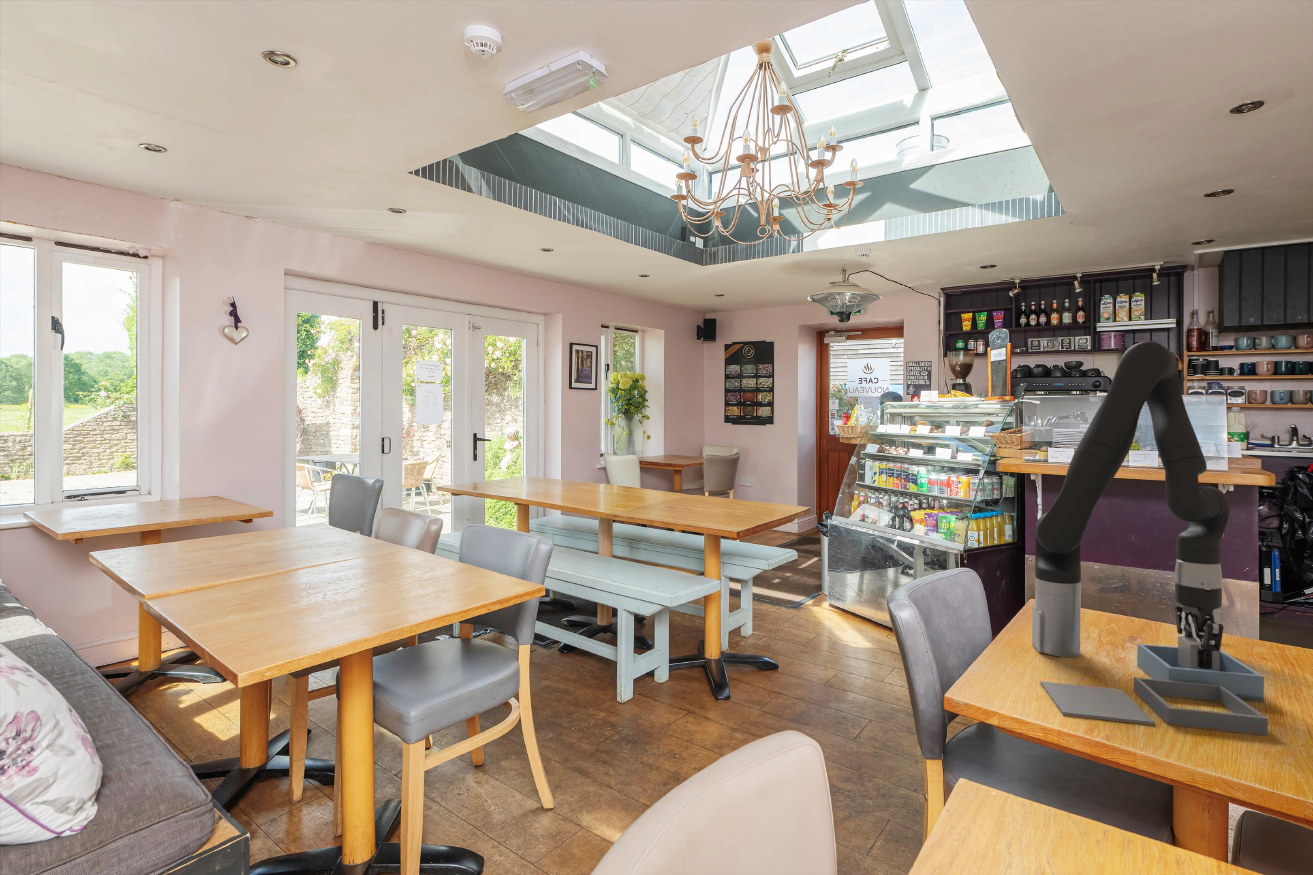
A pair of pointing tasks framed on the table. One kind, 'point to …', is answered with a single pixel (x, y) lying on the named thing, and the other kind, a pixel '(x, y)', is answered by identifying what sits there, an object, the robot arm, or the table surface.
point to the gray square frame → (1238, 721)
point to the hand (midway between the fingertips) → (1197, 662)
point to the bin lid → (1096, 703)
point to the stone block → (1193, 654)
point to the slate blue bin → (1201, 671)
